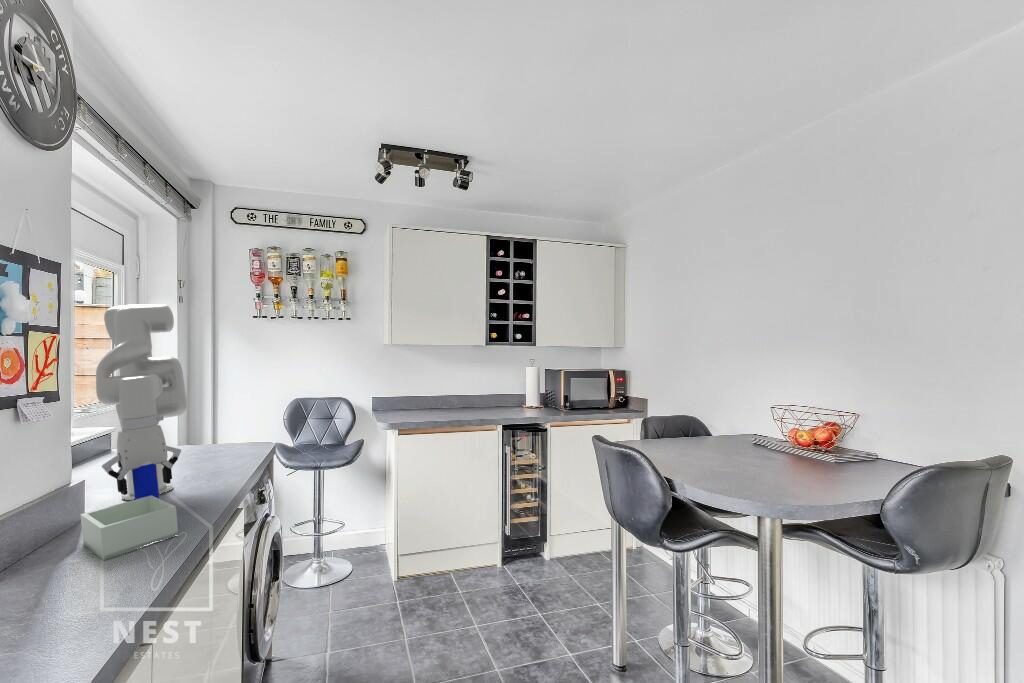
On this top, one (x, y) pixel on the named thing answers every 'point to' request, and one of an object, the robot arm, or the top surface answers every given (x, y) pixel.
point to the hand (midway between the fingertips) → (146, 488)
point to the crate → (128, 526)
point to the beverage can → (145, 480)
